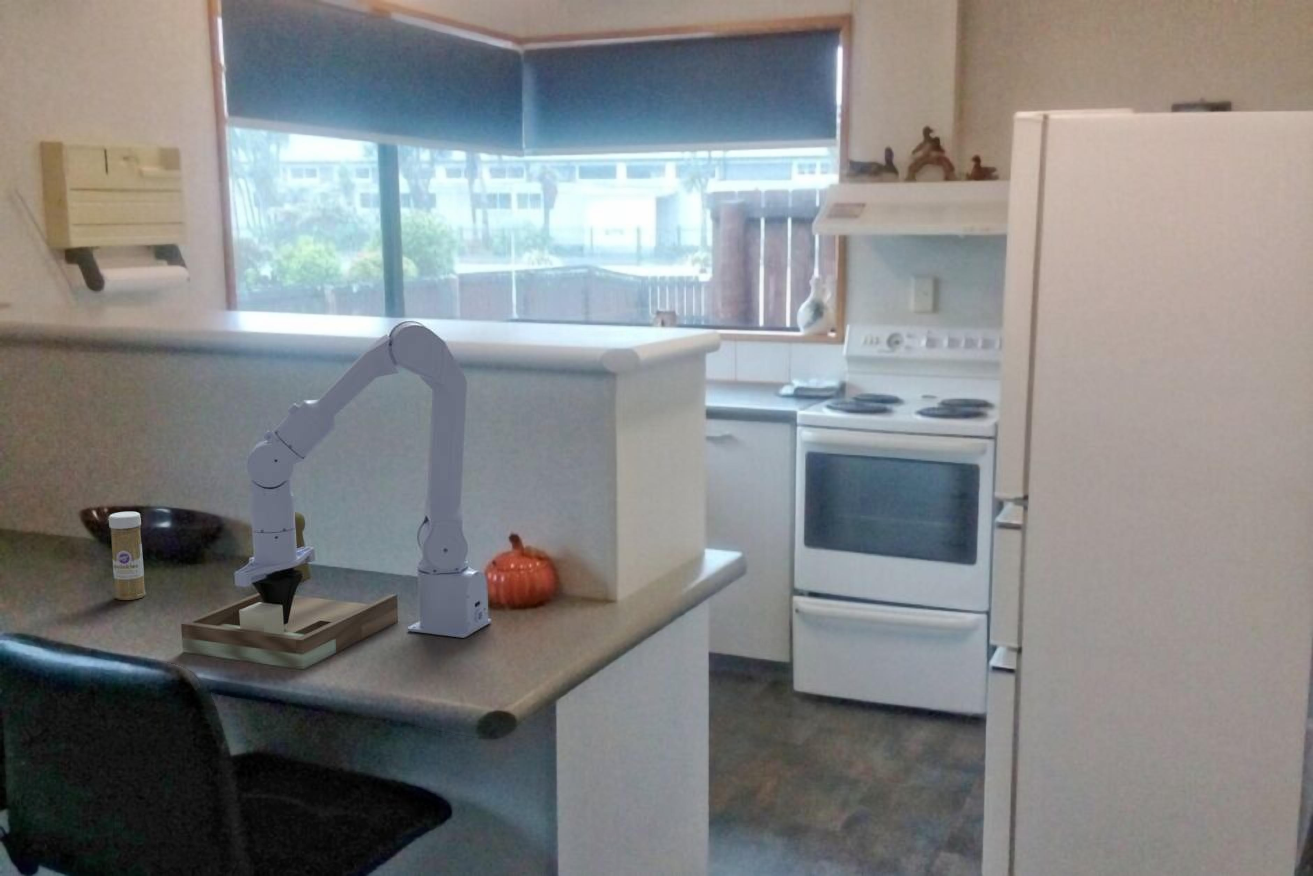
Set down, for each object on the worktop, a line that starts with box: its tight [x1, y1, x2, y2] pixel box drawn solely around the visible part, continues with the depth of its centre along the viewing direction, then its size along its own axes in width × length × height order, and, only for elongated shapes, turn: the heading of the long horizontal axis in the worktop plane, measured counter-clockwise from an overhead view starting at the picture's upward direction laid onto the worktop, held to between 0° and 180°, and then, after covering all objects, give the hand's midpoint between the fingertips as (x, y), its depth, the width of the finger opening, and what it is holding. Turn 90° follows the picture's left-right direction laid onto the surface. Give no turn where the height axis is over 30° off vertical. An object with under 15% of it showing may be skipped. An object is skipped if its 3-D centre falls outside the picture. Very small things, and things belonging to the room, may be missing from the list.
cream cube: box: [239, 602, 284, 634], centre depth 169 cm, size 4×4×4 cm
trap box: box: [180, 592, 399, 670], centre depth 175 cm, size 20×22×4 cm
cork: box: [294, 512, 312, 582], centre depth 205 cm, size 6×6×11 cm
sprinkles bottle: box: [108, 511, 147, 601], centre depth 194 cm, size 5×5×13 cm
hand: (279, 623), depth 172 cm, fingers closed
